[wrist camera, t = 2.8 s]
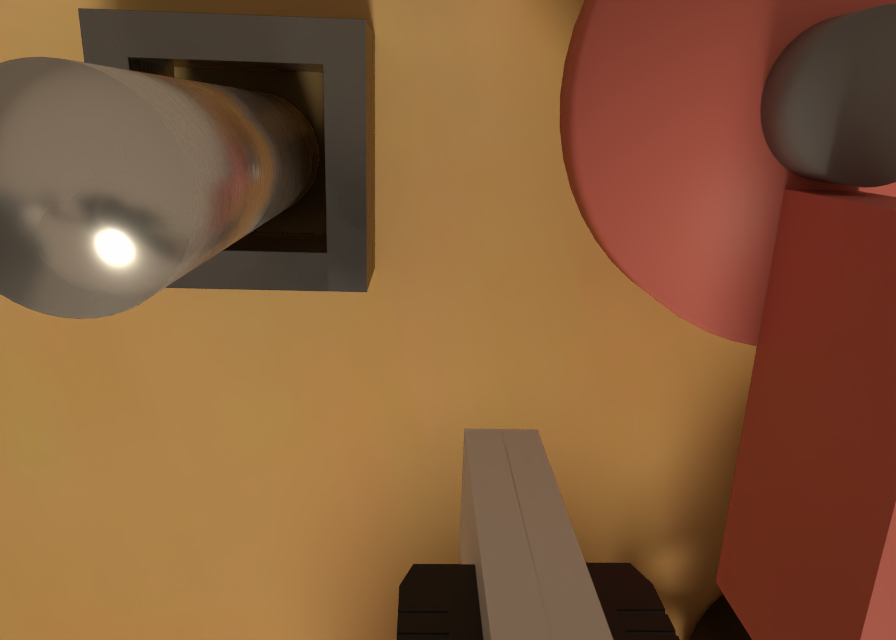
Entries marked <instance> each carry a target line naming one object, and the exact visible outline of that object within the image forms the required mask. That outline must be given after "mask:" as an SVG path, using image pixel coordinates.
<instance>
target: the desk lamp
mask: <svg viewBox="0 0 896 640" xmlns="http://www.w3.org/2000/svg"><path fill="white" fill-rule="evenodd" d="M560 133H561V142H562V151H563V159H564V163H565V167H566V171H567V175H568V179H569V184H570V188H571V190H572V193H573V195H574V198H575V200H576V203H577V205H578V208H579V211H580V213H581V215H582V217H583V219H584V221H585V222H586V224H587V226H588V228H589V230H590V231H591V233H592V235H593V237H594V239H595V240H596V241H597V243H598V244H599V245H600V247H601V248H602V249H603V251H604V252H605V253H606V255H607V256H608V257H609V258H610V260H611V261H612V262H613V263H614V264H615V265H616V266H617V267H618V268H619V269H620V270H621V271H622V272H623V273H624V274H625V275H626V276H627V277H628V278H629V279H630V280H631V281H632V282H634V283H635V284H636V285H638V286H639V287H640V288H641V289H643V290H644V291H645V292H647V293H648V294H649V295H650V296H652V297H653V298H654V299H656V300H657V301H658V302H660V303H661V304H662V305H664V306H665V307H666V308H668V309H669V310H670V311H672V312H673V313H675V314H676V315H677V316H679V317H680V318H682V319H684V320H686V321H688V322H690V323H691V324H693V325H695V326H697V327H699V328H701V329H703V330H705V331H707V332H710V333H713V334H715V335H718V336H721V337H723V338H726V339H729V340H732V341H736V342H740V343H745V344H749V345H754V346H757V349H756V355H755V360H754V366H753V372H752V377H751V383H750V389H749V394H748V400H747V406H746V412H745V417H744V423H743V429H742V434H741V440H740V446H739V451H738V457H737V463H736V469H735V474H734V480H733V486H732V491H731V497H730V503H729V509H728V514H727V520H726V526H725V531H724V537H723V543H722V548H721V554H720V560H719V566H718V571H717V577H716V583H717V585H718V586H719V588H720V590H721V591H722V593H723V594H724V596H725V598H726V599H727V601H728V602H729V604H730V605H731V607H732V609H733V610H734V612H735V613H736V615H737V617H738V618H739V620H740V621H741V623H742V624H743V626H744V628H745V629H746V631H747V632H748V634H749V636H750V637H751V639H752V640H896V0H585V1H584V4H583V6H582V9H581V11H580V14H579V16H578V19H577V21H576V24H575V26H574V29H573V33H572V37H571V40H570V44H569V48H568V52H567V56H566V59H565V64H564V72H563V79H562V86H561V93H560Z"/></svg>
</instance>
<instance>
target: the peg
mask: <svg viewBox="0 0 896 640" xmlns="http://www.w3.org/2000/svg"><path fill="white" fill-rule="evenodd" d="M318 166H319V147H318V142H317V139H316V136H315V133H314V131H313V129H312V127H311V125H310V123H309V122H308V120H307V119H306V117H305V116H304V115H303V114H302V113H301V112H300V111H299V110H298V109H297V108H296V107H295V106H294V105H292V104H291V103H289V102H288V101H286V100H284V99H282V98H281V97H278V96H275V95H272V94H268V93H263V92H257V91H251V90H245V89H239V88H233V87H227V86H221V85H216V84H210V83H204V82H198V81H192V80H186V79H180V78H174V77H168V76H162V75H156V74H150V73H144V72H138V71H132V70H126V69H120V68H114V67H108V66H102V65H96V64H90V63H84V62H78V61H72V60H66V59H58V58H49V57H28V58H20V59H15V60H9V61H5V62H3V63H0V294H1V295H3V296H5V297H7V298H8V299H10V300H12V301H13V302H15V303H18V304H20V305H22V306H24V307H27V308H29V309H32V310H35V311H38V312H41V313H44V314H48V315H53V316H58V317H63V318H76V319H85V318H99V317H104V316H110V315H114V314H117V313H120V312H123V311H126V310H128V309H130V308H133V307H135V306H137V305H139V304H141V303H142V302H144V301H145V300H147V299H148V298H150V297H151V296H153V295H154V294H156V293H158V292H159V291H161V290H162V289H164V288H165V287H167V286H168V285H170V284H171V283H173V282H175V281H176V280H178V279H179V278H181V277H182V276H184V275H185V274H187V273H188V272H190V271H191V270H193V269H195V268H196V267H198V266H199V265H201V264H202V263H204V262H205V261H207V260H208V259H210V258H212V257H213V256H215V255H216V254H218V253H219V252H221V251H222V250H224V249H225V248H227V247H228V246H230V245H232V244H233V243H235V242H236V241H238V240H239V239H241V238H242V237H244V236H245V235H247V234H248V233H250V232H252V231H253V230H255V229H256V228H258V227H259V226H261V225H262V224H264V223H265V222H267V221H269V220H270V219H272V218H273V217H275V216H276V215H278V214H279V213H281V212H282V211H284V210H285V209H287V208H289V207H290V206H292V205H293V204H295V203H296V202H298V201H299V200H300V199H301V198H302V197H303V196H304V195H305V194H306V193H307V192H308V191H309V189H310V188H311V186H312V184H313V182H314V180H315V178H316V175H317V171H318Z"/></svg>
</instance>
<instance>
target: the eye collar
mask: <svg viewBox="0 0 896 640" xmlns="http://www.w3.org/2000/svg"><path fill="white" fill-rule="evenodd" d="M78 11H79V20H80V28H81V37H82V45H83V54H84V62H85V63H90V64H96V65H102V66H108V67H114V68H120V69H126V70H132V71H138V72H144V73H150V74H156V75H162V76H168V77H174V69H173V67H196V68H224V69H252V70H280V71H309V72H323V82H324V128H325V174H326V221H327V234H316V233H276V232H250V233H248V234H247V235H245V236H244V237H242V238H241V239H239V240H238V241H236V242H235V243H233V244H232V245H230V246H228V247H227V248H225V249H224V250H222V251H221V252H219V253H218V254H216V255H215V256H213V257H212V258H210V259H208V260H207V261H205V262H204V263H202V264H201V265H199V266H198V267H196V268H195V269H193V270H191V271H190V272H188V273H187V274H185V275H184V276H182V277H181V278H179V279H178V280H176V281H175V282H173V283H171V284H170V285H168V286H167V287H165V288H202V289H248V290H294V291H340V292H367V290H368V287H369V284H370V281H371V278H372V275H373V272H374V269H375V35H374V33H373V31H372V29H371V28H370V26H369V24H368V23H367V21H366V20H365V19H339V18H313V17H288V16H262V15H236V14H211V13H185V12H159V11H134V10H108V9H82V8H78Z"/></svg>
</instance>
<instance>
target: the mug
mask: <svg viewBox="0 0 896 640" xmlns="http://www.w3.org/2000/svg"><path fill="white" fill-rule="evenodd" d="M691 640H752V639H751V637H750V636H749V634H748V632H747V631H746V629H745V628H744V626H743V624H742V623H741V621H740V620H739V618H738V617H737V615H736V613H735V612H734V610H733V609H732V607H731V605H730V604H729V602H728V601H727V599H726V598H725V596H724V595H723V596H722V597H721V598H720V599H719V600H717V601H716V602H715V603H714V604H713V605H712V606H711V607H710V609H709V610H708V611H707V612H706V613H705V615H704V616H703V617H702V619H701V620H700V622H699V624H698V625H697V627H696V629H695V631H694V633H693V636H692V638H691Z"/></svg>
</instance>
